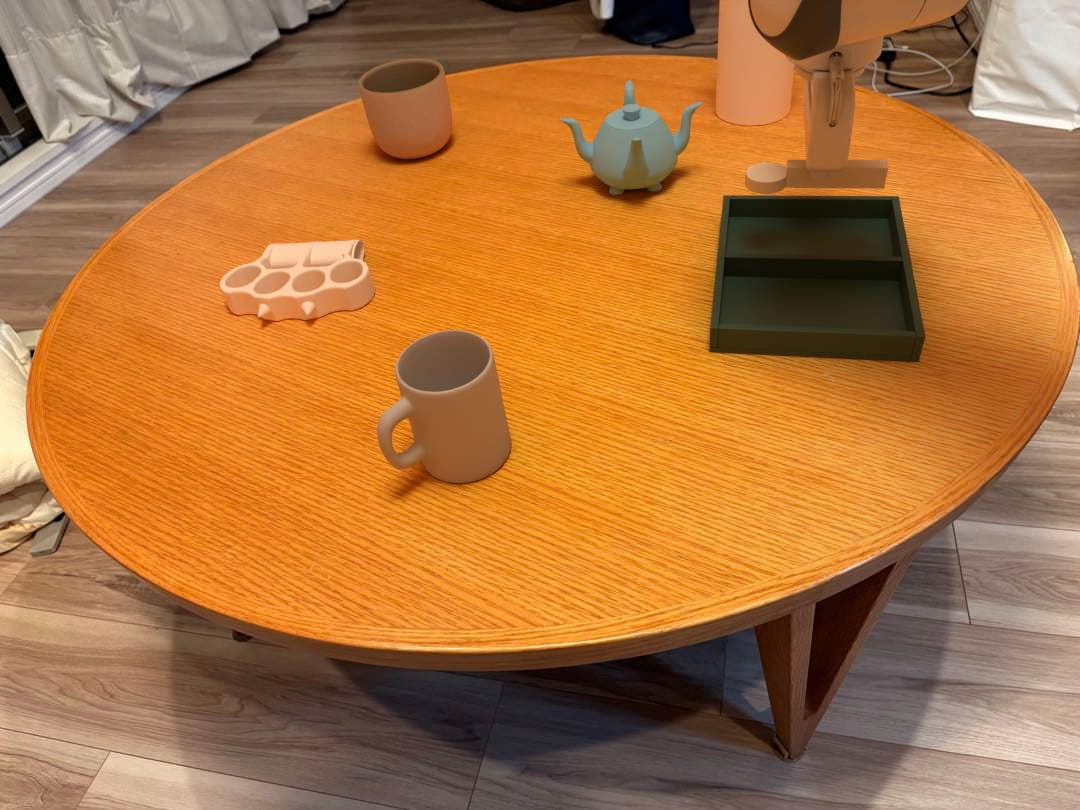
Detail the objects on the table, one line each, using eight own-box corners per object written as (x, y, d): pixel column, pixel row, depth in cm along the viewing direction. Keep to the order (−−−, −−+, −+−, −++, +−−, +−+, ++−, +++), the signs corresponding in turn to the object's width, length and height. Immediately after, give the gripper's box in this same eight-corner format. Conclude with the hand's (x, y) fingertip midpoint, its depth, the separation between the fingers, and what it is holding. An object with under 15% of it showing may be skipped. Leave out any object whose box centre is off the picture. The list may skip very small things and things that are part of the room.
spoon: (881, 174, 88) (886, 153, 86) (885, 195, 85) (889, 173, 83) (745, 173, 91) (746, 153, 89) (744, 193, 88) (745, 173, 86)
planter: (414, 123, 130) (398, 53, 123) (474, 136, 124) (461, 64, 117) (359, 157, 124) (339, 86, 116) (420, 173, 118) (402, 99, 110)
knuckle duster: (391, 253, 103) (362, 326, 92) (256, 260, 105) (213, 331, 95) (384, 230, 100) (354, 301, 90) (246, 237, 103) (202, 308, 92)
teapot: (703, 175, 108) (705, 100, 101) (635, 217, 102) (633, 141, 96) (630, 149, 116) (628, 78, 109) (564, 187, 110) (557, 114, 103)
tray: (893, 219, 96) (898, 195, 94) (919, 362, 78) (925, 336, 76) (722, 217, 100) (723, 194, 98) (709, 352, 82) (710, 327, 80)
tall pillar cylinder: (748, 88, 126) (759, -97, 109) (805, 106, 119) (827, -89, 102) (700, 113, 122) (704, -77, 105) (757, 132, 115) (772, -66, 98)
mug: (473, 405, 80) (453, 316, 73) (530, 447, 75) (514, 356, 68) (372, 473, 75) (339, 384, 68) (426, 523, 70) (397, 433, 63)
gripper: (879, 79, 69) (854, 222, 79) (862, -4, 83) (843, 126, 93) (801, 81, 71) (785, 221, 80) (798, -1, 85) (785, 126, 94)
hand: (816, 169), depth 87 cm, fingers closed on spoon, 2 cm apart
